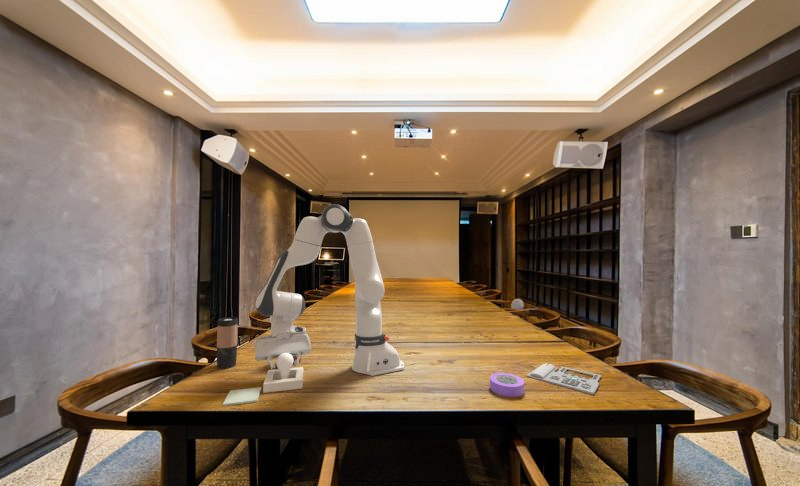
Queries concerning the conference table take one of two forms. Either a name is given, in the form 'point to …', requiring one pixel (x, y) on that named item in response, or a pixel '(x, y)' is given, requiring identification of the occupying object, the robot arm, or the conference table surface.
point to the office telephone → (566, 378)
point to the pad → (242, 396)
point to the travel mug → (227, 342)
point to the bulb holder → (283, 380)
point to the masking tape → (507, 384)
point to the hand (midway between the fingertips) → (285, 367)
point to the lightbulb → (284, 364)
